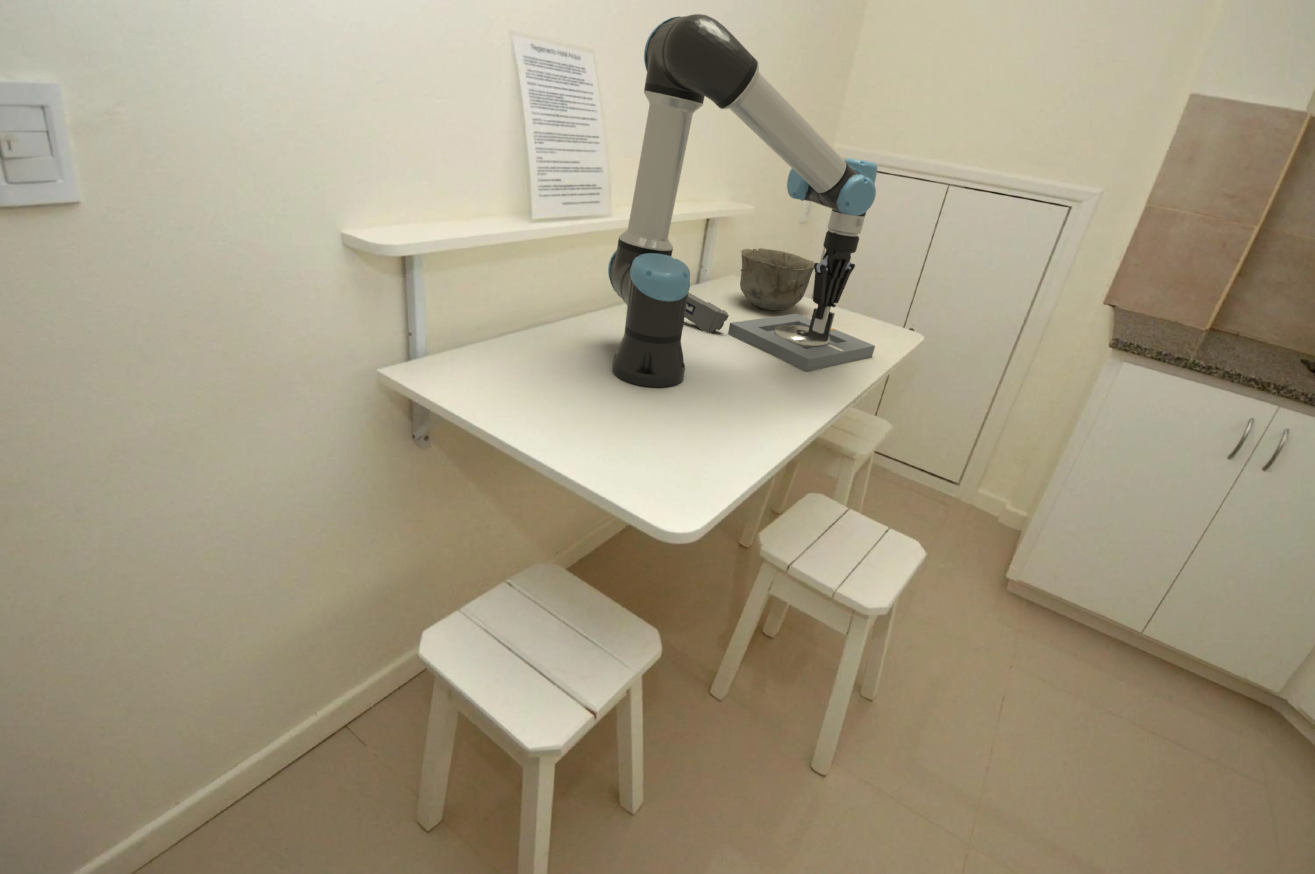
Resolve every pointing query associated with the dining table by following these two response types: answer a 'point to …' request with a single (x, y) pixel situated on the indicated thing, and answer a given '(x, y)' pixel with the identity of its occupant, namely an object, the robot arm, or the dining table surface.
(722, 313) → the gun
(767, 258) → the bowl
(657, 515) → the dining table surface
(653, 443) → the dining table surface
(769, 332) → the panel
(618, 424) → the dining table surface
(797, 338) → the dial
